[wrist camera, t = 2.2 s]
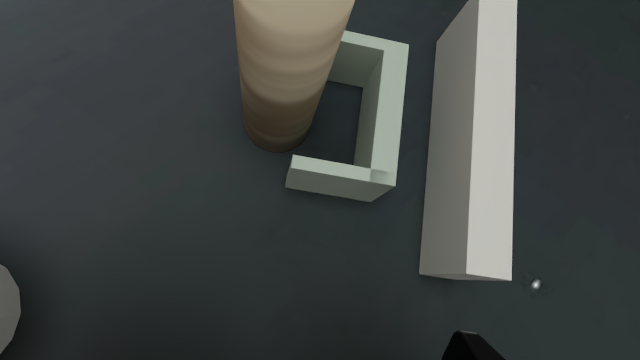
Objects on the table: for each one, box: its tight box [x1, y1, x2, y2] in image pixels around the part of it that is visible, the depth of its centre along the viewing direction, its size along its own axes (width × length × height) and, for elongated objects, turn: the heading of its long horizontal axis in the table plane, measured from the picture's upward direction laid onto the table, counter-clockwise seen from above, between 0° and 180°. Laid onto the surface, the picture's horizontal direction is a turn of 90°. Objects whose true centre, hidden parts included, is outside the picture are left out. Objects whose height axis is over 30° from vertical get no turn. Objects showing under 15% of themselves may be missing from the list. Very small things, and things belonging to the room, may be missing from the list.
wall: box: [419, 0, 517, 281], centre depth 21 cm, size 2×14×5 cm, turn 172°
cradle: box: [285, 30, 409, 202], centre depth 21 cm, size 5×7×4 cm, turn 172°
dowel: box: [233, 0, 355, 152], centre depth 16 cm, size 4×4×13 cm
